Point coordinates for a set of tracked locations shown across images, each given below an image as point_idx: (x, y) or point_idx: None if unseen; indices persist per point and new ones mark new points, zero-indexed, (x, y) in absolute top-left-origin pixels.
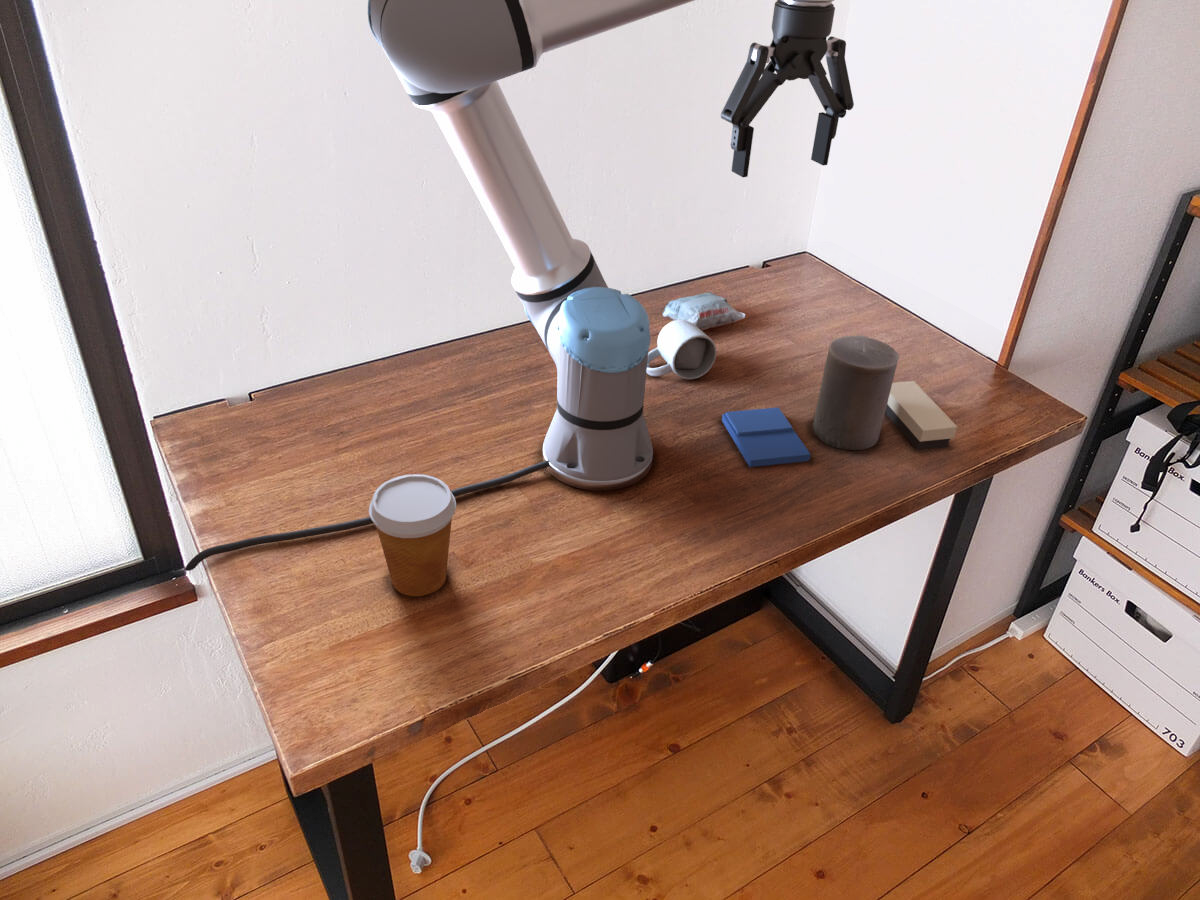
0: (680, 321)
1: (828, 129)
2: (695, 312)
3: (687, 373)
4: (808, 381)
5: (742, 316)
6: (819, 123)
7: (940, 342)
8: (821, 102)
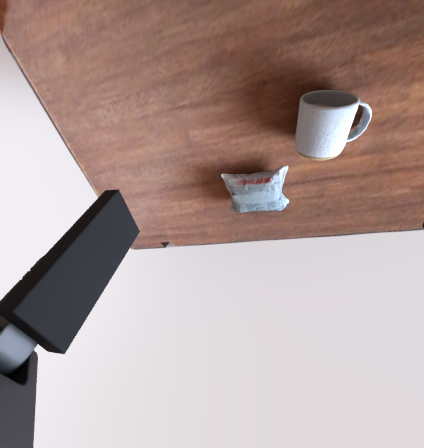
0: (323, 151)
1: (52, 272)
2: (272, 184)
3: (325, 101)
4: (205, 51)
5: (223, 175)
6: (79, 312)
7: (52, 94)
8: (31, 399)
